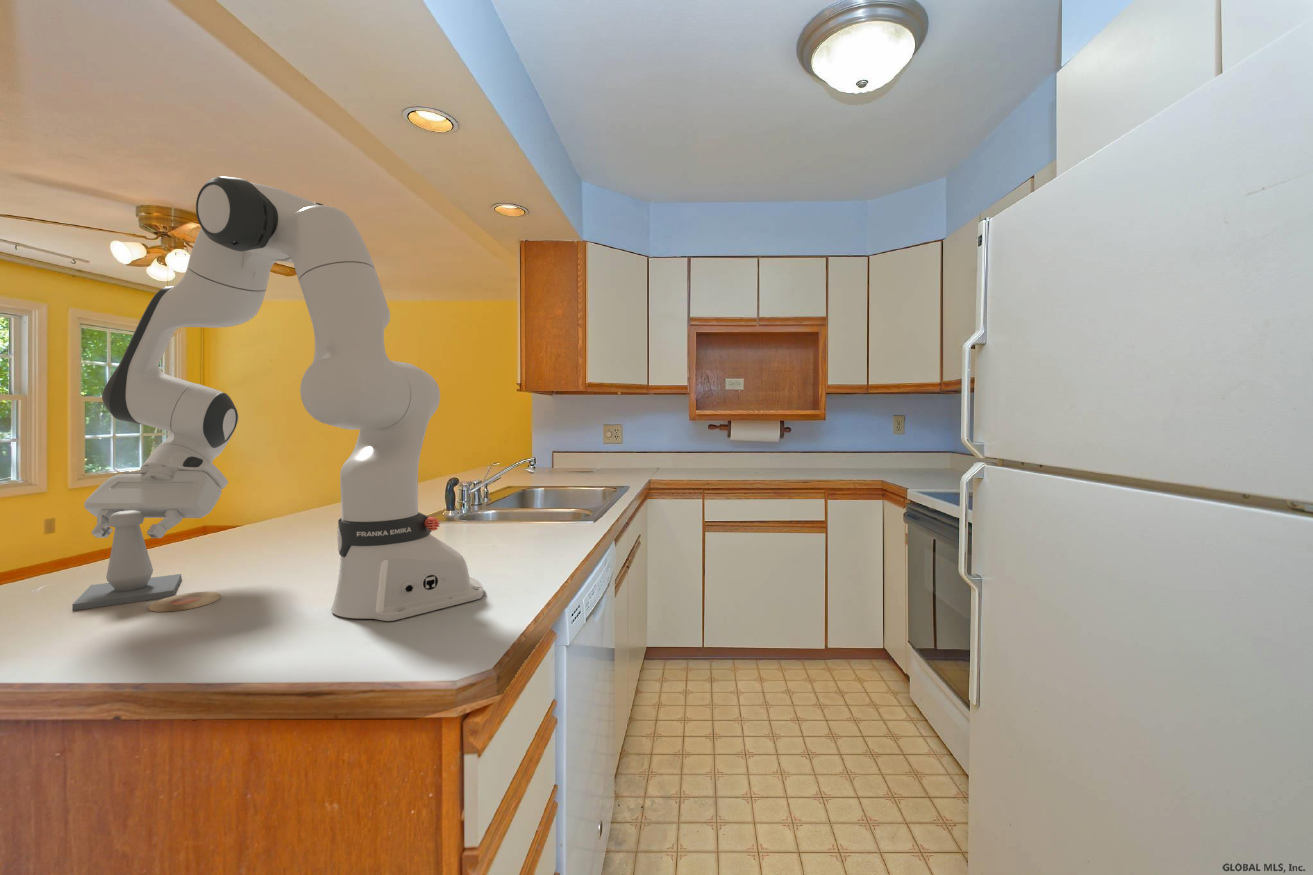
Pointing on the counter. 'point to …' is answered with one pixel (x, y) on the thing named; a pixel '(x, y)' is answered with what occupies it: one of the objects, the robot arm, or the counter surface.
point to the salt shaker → (128, 553)
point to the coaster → (184, 601)
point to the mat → (127, 593)
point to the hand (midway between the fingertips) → (125, 536)
